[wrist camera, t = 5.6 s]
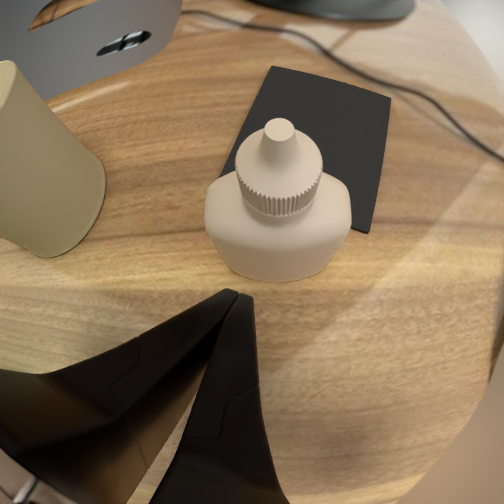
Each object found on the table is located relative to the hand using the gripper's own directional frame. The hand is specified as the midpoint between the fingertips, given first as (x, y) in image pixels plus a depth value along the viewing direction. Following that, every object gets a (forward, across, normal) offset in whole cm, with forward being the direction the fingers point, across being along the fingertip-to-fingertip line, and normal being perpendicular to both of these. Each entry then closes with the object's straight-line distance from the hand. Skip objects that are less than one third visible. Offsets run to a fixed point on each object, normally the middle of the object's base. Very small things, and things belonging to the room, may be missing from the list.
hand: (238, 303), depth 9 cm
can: (+8, +17, +4) cm, 20 cm away
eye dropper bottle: (+9, 0, +4) cm, 10 cm away
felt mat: (+15, 0, -3) cm, 16 cm away
